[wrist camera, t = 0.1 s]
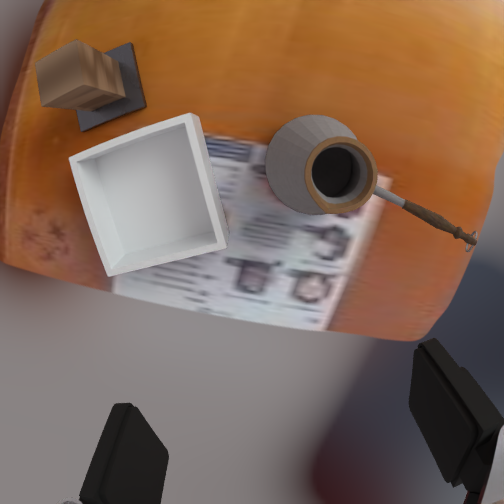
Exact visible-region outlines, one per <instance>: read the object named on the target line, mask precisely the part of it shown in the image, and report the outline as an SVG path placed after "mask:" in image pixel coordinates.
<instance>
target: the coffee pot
mask: <svg viewBox="0 0 504 504" xmlns="http://www.w3.org/2000/svg"><path fill="white" fill-rule="evenodd" d="M265 167H266V175H267V179H268V182H269V185H270V187H271V188H272V190H273V192H274V193H275V195H276V196H277V197H278V198H279V199H280V200H281V201H282V202H283V203H284V204H285V205H286V206H288V207H290V208H292V209H293V210H295V211H297V212H301V213H305V214H309V215H323V214H337V213H345V212H349V211H353V210H356V209H357V208H359V207H361V206H362V205H364V204H365V203H366V202H367V201H368V200H369V199H370V197H371V195H372V194H374V195H377V196H379V197H381V198H383V199H386V200H388V201H390V202H392V203H394V204H396V205H399V206H401V207H402V208H403V209H405V210H406V211H408V212H410V213H412V214H413V215H415V216H417V217H418V218H420V219H422V220H424V221H425V222H427V223H429V224H430V225H432V226H433V227H435V228H437V229H440V230H443V231H446V232H448V233H451V234H453V236H454V238H455V239H458V238H461V239H463V240H464V241H465V242H466V243H467V245H466V252H470V250H471V249H472V248H473V246H475V245H476V243H477V240H476V239H477V232H476V231H474V232H473V233H472V234H471V235H470V234H466V233H464V232H463V231H462V228H461V227H455V226H454V225H452V224H451V223H450V222H448V221H447V220H446V219H444V218H443V217H442V216H440V215H438V214H436V213H434V212H432V211H430V210H428V209H425V208H423V207H421V206H419V205H417V204H415V203H412V202H410V201H408V200H404V199H402V198H400V197H398V196H397V195H395V194H393V193H391V192H389V191H387V190H385V189H383V188H381V187H379V186H377V185H376V184H377V175H378V171H377V166H376V162H375V159H374V157H373V155H372V153H371V152H370V151H369V150H368V148H367V147H366V146H365V145H364V144H362V143H361V142H359V141H358V140H357V138H356V136H355V135H354V134H353V133H352V132H351V131H350V130H349V129H348V127H347V126H345V125H344V124H342V123H340V122H339V121H337V120H336V119H333V118H330V117H327V116H323V115H306V116H302V117H298V118H295V119H293V120H292V121H290V122H288V123H286V124H285V125H283V126H282V127H281V128H280V130H279V131H278V132H277V133H276V134H275V135H274V137H273V139H272V140H271V142H270V144H269V146H268V150H267V154H266V158H265ZM474 233H476V235H475V239H474V237H472V236H473V235H474ZM468 244H471V245H472V246H471V247H470V249H469V250H467V248H468Z"/></svg>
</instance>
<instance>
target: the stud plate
mask: <svg viewBox="0 0 504 504" xmlns="http://www.w3.org/2000/svg"><path fill="white" fill-rule="evenodd" d="M104 54H106V55H107V56H109V57H111V58H113V59H115V60H116V61H118V63H119V68H120V73H121V78H122V82H123V87H124V91H125V96H126V97H124V98H121V99H119V100H117V101H114V102H112V103H109V104H107V105H104V106H102V107H100V108H98V109H95V110H93V111H91V112H90V111H82V110H76V111H77V116H78V121H79V125H80V129H81V132H85V131H87V130H90V129H92V128H94V127H97V126H99V125H101V124H104V123H106V122H108V121H111V120H113V119H116V118H118V117H121V116H124V115H126V114H129V113H131V112H134V111H137V110H140V109H142V108H145V107H147V105H146V101H145V97H144V93H143V88H142V84H141V80H140V75H139V71H138V66H137V62H136V57H135V52H134V48H133V44H132V43H131V42H129V43H127V44H124V45H122V46H120V47H117V48H115V49H112V50H110V51H108V52H106V53H104Z"/></svg>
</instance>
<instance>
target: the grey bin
mask: <svg viewBox="0 0 504 504" xmlns="http://www.w3.org/2000/svg"><path fill="white" fill-rule="evenodd" d="M69 161H70V165H71V168H72V172H73V176H74V179H75V183H76V186H77V189H78V193H79V196H80V199H81V203H82V206H83V209H84V212H85V215H86V218H87V221H88V224H89V227H90V230H91V233H92V236H93V238H94V241H95V244H96V247H97V249H98V252H99V255H100V257H101V260H102V263H103V265H104V268H105V270H106V273H107V275H108V277H110V276H114V275H118V274H122V273H126V272H130V271H134V270H138V269H143V268H147V267H151V266H155V265H159V264H163V263H167V262H171V261H176V260H180V259H184V258H188V257H192V256H196V255H201V254H205V253H209V252H213V251H217V250H222V249H226V248H227V244H228V238H229V229H228V225H227V222H226V218H225V214H224V210H223V207H222V203H221V199H220V196H219V192H218V188H217V184H216V180H215V177H214V173H213V169H212V165H211V162H210V158H209V154H208V150H207V146H206V142H205V138H204V135H203V131H202V127H201V123H200V119H199V117H198V116H196V115H194V114H192V113H188V114H184V115H181V116H178V117H175V118H171V119H168V120H165V121H162V122H159V123H156V124H153V125H150V126H147V127H144V128H141V129H139V130H136V131H133V132H130V133H128V134H125V135H122V136H120V137H117V138H114V139H112V140H109V141H107V142H104V143H102V144H99V145H97V146H94V147H92V148H90V149H87V150H85V151H83V152H80V153H78V154H76V155H74V156H71V157H69Z"/></svg>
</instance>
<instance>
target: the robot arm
mask: <svg viewBox="0 0 504 504" xmlns="http://www.w3.org/2000/svg"><path fill="white" fill-rule="evenodd" d="M409 408H410V411H411V412H412V415H413V417H414V419H415V420H416V423H417V425H418V427H419V428H420V430H421V432H422V434H423V436H424V438H425V440H426V442H427V444H428V447H429V448H430V451H431V452H432V455H433V457H434V459H435V461H436V463H437V465H438V467H439V469H440V472H441V473H442V476H443V478H444V480H445V481H446V482H447V483H449V482H451V484H452V486H453V487H456V486H458V485H460V484H462V483H463V484H464V486H465V488H466V490H467V494H466V497H465V499H464V502H463V504H504V418H503V417H502V416H501V414H500V413H499V411H498V410H497V409H496V407H495V406H494V404H493V403H492V402H491V400H490V399H489V398H488V397H487V395H486V394H485V392H484V391H483V390H482V389H481V387H480V386H479V385H478V383H477V382H476V381H475V379H474V378H473V377H472V376H471V374H470V373H469V372H468V371H467V370H466V369H465V368H464V367H459V366H458V365H457V363H456V362H455V361H454V360H453V358H452V357H451V356H450V355H449V353H448V352H447V351H446V350H445V348H444V347H443V346H442V345H441V344H440V343H439V341H438V340H437V339H436V338H433V339H430V340H428V341H425V342H422V343H420V344H419V345H418V349H416V350H415V351H414V357H413V369H412V379H411V388H410V396H409ZM168 460H169V455H168V451H167V449H166V448H165V446H164V445H163V443H162V442H161V441H160V440H159V438H158V437H157V435H156V434H155V432H154V431H153V430H152V428H151V427H150V425H149V424H148V422H147V421H146V420H145V418H144V417H143V415H142V414H141V412H140V411H139V409H138V408H137V407H134V406H133V405H132V404H131V403H116V404H114V406H113V407H112V410H111V412H110V415H109V417H108V420H107V422H106V425H105V427H104V430H103V432H102V435H101V437H100V440H99V442H98V445H97V448H96V451H95V453H94V456H93V458H92V461H91V464H90V466H89V469H88V472H87V474H86V477H85V480H84V483H83V486H82V489H81V491H80V495H79V496H80V499H79V500H77V499H75V498H65V499H62V500H61V501H59V502H58V503H57V504H161V498H162V492H163V486H164V480H165V476H166V470H167V465H168Z"/></svg>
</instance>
